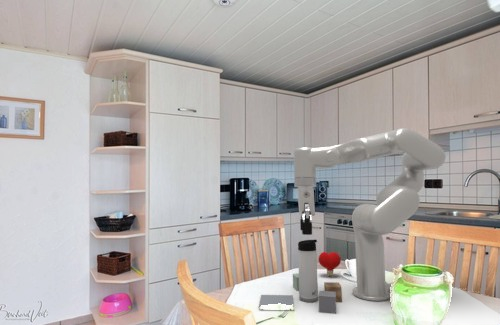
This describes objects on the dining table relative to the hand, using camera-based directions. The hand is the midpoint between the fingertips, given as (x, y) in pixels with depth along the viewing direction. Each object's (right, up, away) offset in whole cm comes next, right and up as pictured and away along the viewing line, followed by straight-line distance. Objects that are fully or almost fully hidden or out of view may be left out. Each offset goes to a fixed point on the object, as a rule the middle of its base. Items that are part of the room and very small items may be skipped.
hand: (306, 232), depth 111 cm
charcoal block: (+5, -22, -11) cm, 25 cm away
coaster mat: (-11, -23, -5) cm, 25 cm away
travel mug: (+1, -23, -1) cm, 23 cm away
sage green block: (0, -23, +10) cm, 25 cm away
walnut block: (+9, -22, -2) cm, 24 cm away
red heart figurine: (+14, -24, +24) cm, 37 cm away
